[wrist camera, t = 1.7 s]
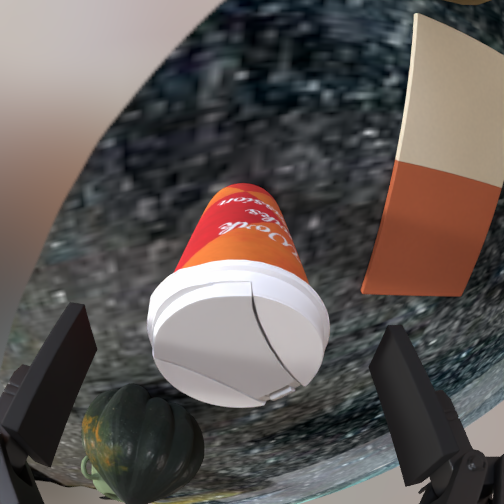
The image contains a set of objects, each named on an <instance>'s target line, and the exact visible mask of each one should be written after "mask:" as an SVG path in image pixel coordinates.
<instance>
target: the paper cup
mask: <svg viewBox="0 0 504 504" xmlns="http://www.w3.org/2000/svg"><path fill="white" fill-rule="evenodd" d="M147 331H148V335H149V339H150V342H151V345H152V347H153V352H152V354H153V358H154V361H155V363H156V365H157V367H158V369H159V371H160V372H161V374H162V375H163V376H164V378H165V379H166V380H167V381H168V382H169V383H170V384H172V385H173V386H174V387H175V388H177V389H178V390H180V391H181V392H183V393H185V394H186V395H188V396H190V397H192V398H195V399H197V400H199V401H202V402H206V403H209V404H213V405H218V406H224V407H235V408H246V407H257V406H263V405H264V404H265V403H266V401H267V400H269V399H271V400H273V401H275V400H277V399H279V398H281V397H283V396H286V395H288V394H290V393H292V392H294V391H295V389H294V388H295V387H297V386H299V385H301V384H302V385H303V386H304V387H305V386H306V385H307V384H308V383H309V382H310V381H311V380H312V379H313V377H314V376H315V375H316V373H317V372H318V370H319V368H320V366H321V363H322V360H323V356H324V350H325V348H326V346H327V343H328V339H329V335H330V322H329V317H328V312H327V310H326V308H325V305H324V303H323V301H322V300H321V298H320V297H319V295H318V294H317V293H316V291H315V290H314V289H313V288H312V287H310V285H309V283H308V280H307V277H306V274H305V272H304V269H303V266H302V264H301V261H300V258H299V256H298V253H297V251H296V248H295V245H294V243H293V240H292V238H291V235H290V233H289V230H288V228H287V225H286V223H285V220H284V218H283V215H282V213H281V211H280V209H279V206H278V205H277V203H276V201H275V200H274V198H273V197H272V196H271V195H270V194H269V193H268V192H267V191H266V190H264V189H263V188H261V187H259V186H256V185H253V184H248V183H238V184H233V185H230V186H227V187H225V188H223V189H222V190H220V191H219V192H218V193H217V194H216V195H215V196H214V197H213V198H212V200H211V201H210V203H209V204H208V206H207V208H206V209H205V211H204V213H203V215H202V217H201V219H200V221H199V223H198V224H197V226H196V228H195V230H194V232H193V234H192V236H191V238H190V240H189V242H188V244H187V246H186V249H185V251H184V253H183V255H182V257H181V259H180V261H179V263H178V265H177V267H176V269H175V271H174V273H173V274H171V275H170V276H168V277H167V278H166V279H165V280H164V281H163V282H162V283H161V284H160V285H159V286H158V287H157V288H156V290H155V291H154V293H153V294H152V295H151V298H150V305H149V312H148V317H147Z"/></svg>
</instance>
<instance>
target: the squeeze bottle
mask: <svg viewBox="0 0 504 504" xmlns="http://www.w3.org/2000/svg"><path fill="white" fill-rule="evenodd" d="M444 1H449V2H453V3H457V4H462V5H479V4H482V3H485V2H487V1H490V0H444Z"/></svg>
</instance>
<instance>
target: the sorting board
mask: <svg viewBox="0 0 504 504" xmlns="http://www.w3.org/2000/svg"><path fill="white" fill-rule="evenodd" d="M395 159H396V160H395V163H394V168H393V173H392V177H391V182H390V186H389V191H388V195H387V199H386V203H385V207H384V211H383V215H382V219H381V223H380V227H379V230H378V234H377V238H376V241H375V245H374V248H373V252H372V255H371V259H370V262H369V265H368V269H367V272H366V275H365V278H364V281H363V285H362V288H361V292H362V294H378V295H411V296H461V295H462V293H463V291H464V289H465V287H466V285H467V282H468V280H469V278H470V276H471V273H472V271H473V269H474V266H475V264H476V261H477V259H478V256H479V254H480V251H481V249H482V246H483V243H484V241H485V238H486V235H487V233H488V230H489V227H490V224H491V221H492V218H493V215H494V212H495V209H496V205H497V202H498V199H499V195H500V192H501V188H502V185H503V181H504V55H502V54H500V53H499V52H497V51H495V50H494V49H492V48H490V47H488V46H487V45H485V44H483V43H481V42H479V41H477V40H476V39H474V38H472V37H470V36H468V35H466V34H464V33H462V32H460V31H458V30H456V29H454V28H452V27H449V26H447V25H445V24H443V23H441V22H438V21H436V20H434V19H431V18H429V17H426V16H424V15H422V14H419V13H416V14H414V25H413V39H412V51H411V61H410V70H409V79H408V86H407V94H406V101H405V107H404V114H403V120H402V126H401V132H400V137H399V143H398V148H397V153H396V158H395Z"/></svg>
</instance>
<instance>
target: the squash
mask: <svg viewBox="0 0 504 504" xmlns="http://www.w3.org/2000/svg"><path fill="white" fill-rule="evenodd" d="M81 438H82V444H83V447H84V450H85V452H86V454H87V456H88V458H89V460H90V462H91V464H92V465H93V467H94V468H95V469H96V471H97V472H98V473H99V474H100V476H101V477H102V478H103V480H104V481H105V482H106V483H107V485H108V486H109V487H110V488H111V489H112V491H113V492H114V493H115V494H116V495H117V496H118V497H119V499H121V500H122V501H123V502H124V503H125V504H148V503H151V502H154V501H157V500H159V499H162V498H165V497H167V496H170V495H171V494H173V493H175V492H177V491H178V490H180V489H181V488H183V487H184V486H185V485H186V484H188V483H189V482H190V481H191V480H192V479H193V477H194V476H195V475H196V473H197V472H198V470H199V468H200V466H201V464H202V462H203V458H204V440H203V435H202V432H201V429H200V427H199V425H198V423H197V422H196V420H195V419H194V418H193V417H192V416H191V415H190V414H189V413H188V412H187V411H186V409H185V408H184V407H182V406H181V405H179V404H176V403H167V402H166V401H165V400H164V399H162V398H159V397H155V398H150V395H149V393H148V392H147V390H146V389H144V388H143V387H141V386H139V385H137V384H128V385H125V386H123V387H122V388H121V389H120V390H117V389H116V390H108V391H105V392H103V393H102V394H100V395H99V396H98V397H97V398H95V400H94V401H93V402H92V404H91V405H90V406H89V408H88V410H87V412H86V414H85V416H84V418H83V422H82V430H81Z"/></svg>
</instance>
